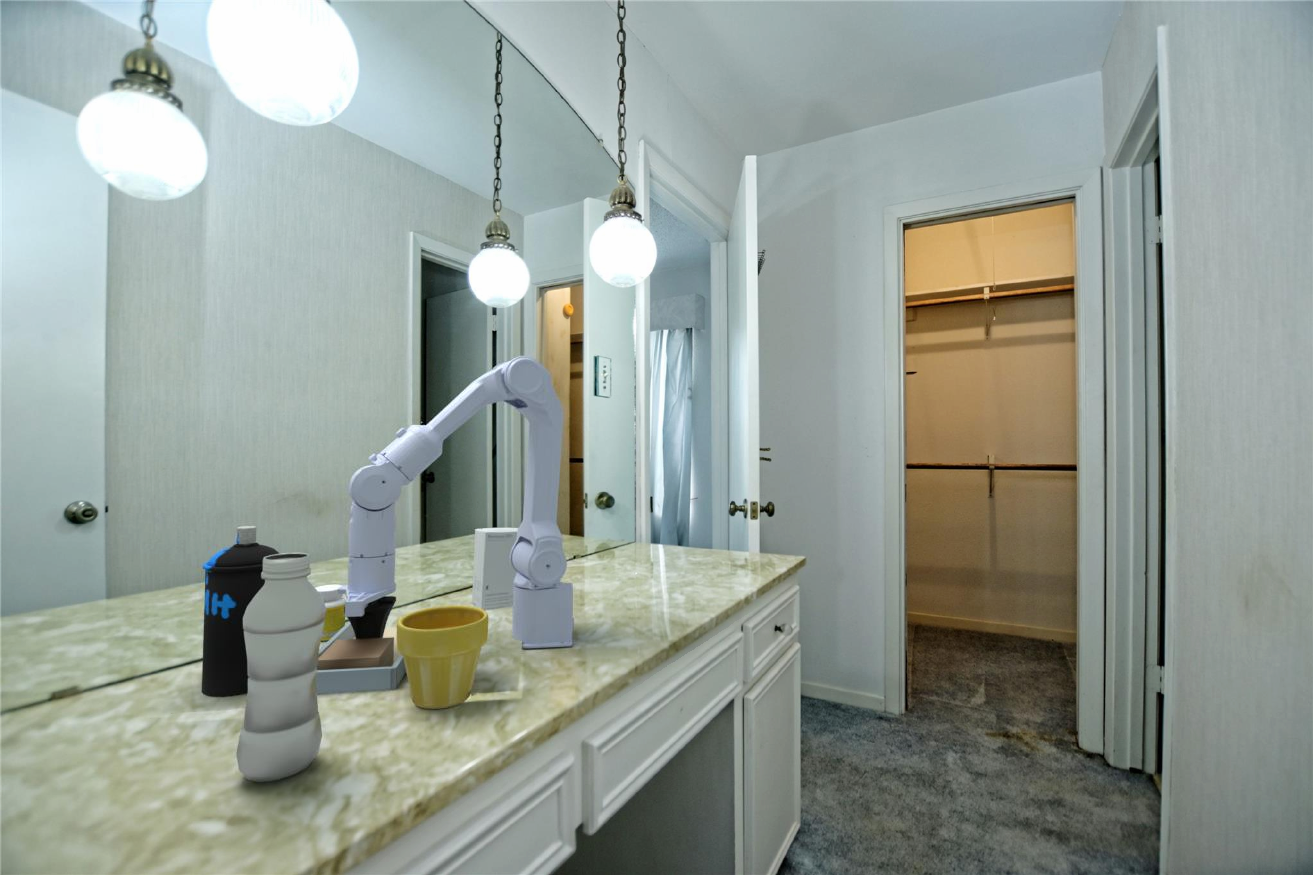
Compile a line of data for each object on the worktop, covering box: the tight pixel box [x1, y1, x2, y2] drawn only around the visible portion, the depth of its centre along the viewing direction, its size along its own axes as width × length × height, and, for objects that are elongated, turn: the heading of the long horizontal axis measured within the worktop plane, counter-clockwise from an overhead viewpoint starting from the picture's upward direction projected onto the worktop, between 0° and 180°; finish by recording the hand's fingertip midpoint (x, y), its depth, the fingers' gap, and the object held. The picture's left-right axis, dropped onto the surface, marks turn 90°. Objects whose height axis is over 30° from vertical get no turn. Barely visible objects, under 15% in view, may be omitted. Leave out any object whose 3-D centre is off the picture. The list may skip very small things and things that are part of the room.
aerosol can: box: [201, 525, 281, 698], centre depth 69 cm, size 8×8×20 cm
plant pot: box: [396, 605, 489, 710], centre depth 68 cm, size 10×10×10 cm
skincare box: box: [471, 527, 519, 611], centre depth 105 cm, size 8×6×15 cm
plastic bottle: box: [235, 552, 326, 783], centre depth 53 cm, size 6×7×20 cm
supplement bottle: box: [314, 584, 346, 643], centre depth 85 cm, size 5×5×8 cm
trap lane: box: [316, 620, 407, 695], centre depth 79 cm, size 16×24×4 cm
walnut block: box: [317, 637, 394, 670], centre depth 71 cm, size 7×7×4 cm
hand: (369, 654), depth 76 cm, fingers closed
